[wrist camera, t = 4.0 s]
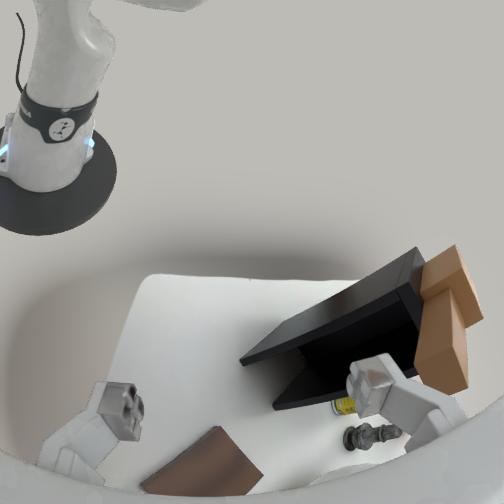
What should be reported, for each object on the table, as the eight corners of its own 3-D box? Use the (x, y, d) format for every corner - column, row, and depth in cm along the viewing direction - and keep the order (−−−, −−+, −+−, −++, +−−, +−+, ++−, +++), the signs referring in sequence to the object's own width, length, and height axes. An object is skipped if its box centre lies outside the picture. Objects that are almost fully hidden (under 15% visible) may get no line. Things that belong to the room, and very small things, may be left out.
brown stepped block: (407, 352, 15) (475, 320, 12) (423, 264, 29) (454, 243, 26) (435, 410, 14) (495, 386, 11) (442, 303, 29) (474, 284, 26)
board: (139, 484, 20) (143, 487, 19) (214, 426, 30) (220, 426, 29) (194, 533, 19) (200, 537, 18) (257, 474, 29) (263, 475, 28)
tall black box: (238, 359, 38) (408, 281, 22) (284, 320, 48) (416, 246, 32) (275, 410, 37) (448, 363, 20) (313, 364, 47) (448, 306, 30)
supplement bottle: (330, 415, 42) (377, 405, 36) (330, 388, 46) (374, 375, 40) (347, 416, 45) (391, 406, 38) (346, 391, 48) (388, 378, 42)
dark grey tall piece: (340, 449, 39) (398, 441, 31) (344, 422, 43) (400, 410, 36) (356, 454, 40) (411, 445, 33) (360, 428, 45) (412, 416, 37)
